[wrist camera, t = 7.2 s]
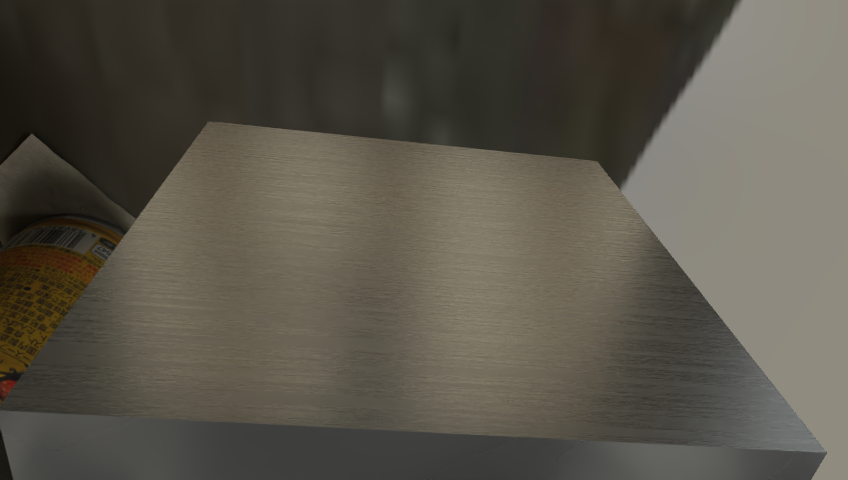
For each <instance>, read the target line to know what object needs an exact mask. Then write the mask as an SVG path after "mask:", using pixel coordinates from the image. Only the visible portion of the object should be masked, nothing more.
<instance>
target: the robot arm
mask: <svg viewBox="0 0 848 480" xmlns="http://www.w3.org/2000/svg"><path fill="white" fill-rule="evenodd" d="M0 480H13V476H12V472H11V468H10V464H9V460H8V456H7V452H6V448H5V444H4V440H3V436H2V432H1V430H0Z"/></svg>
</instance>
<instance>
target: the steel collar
mask: <svg viewBox="0 0 848 480" xmlns="http://www.w3.org/2000/svg"><path fill="white" fill-rule="evenodd" d="M0 428H1V432H2V436H3V440H4V444H5V448H6V452H7V456H8V460H9V464H10V468H11V472H12V476H13V480H811V479H812V477H813V475H814V474H815V472H816V470H817V469H818V467H819V465H820V463H821V462H822V460H823V459H824V457H825V455H826V454H827V452H826V451H825V450H824V448H823V447H822V446H821V445H820V443H819V442H818V441H817V440H816V438H815V437H814V436H813V434H812V433H811V432H810V431H809V429H808V428H807V427H806V426H805V424H804V423H803V422H802V420H801V419H800V418H799V417H798V415H797V414H796V413H795V412H794V410H793V409H792V408H791V406H790V405H789V404H788V403H787V402H786V400H785V399H784V398H783V396H782V395H781V394H780V393H779V391H778V390H777V389H776V388H775V386H774V385H773V384H772V382H771V381H770V380H769V379H768V377H767V376H766V375H765V374H764V372H763V371H762V370H761V368H760V367H759V366H758V365H757V363H756V362H755V361H754V360H753V358H752V357H751V356H750V355H749V353H748V352H747V351H746V349H745V348H744V347H743V346H742V345H741V343H740V342H739V341H738V339H737V338H736V337H735V336H734V334H733V333H732V332H731V331H730V329H729V328H728V327H727V326H726V324H725V323H724V322H723V320H722V319H721V318H720V317H719V315H718V314H717V313H716V311H715V310H714V309H713V308H712V306H711V305H710V304H709V303H708V301H707V300H706V299H705V298H704V297H703V295H702V294H701V293H700V291H699V290H698V289H697V287H696V286H695V285H694V284H693V282H692V281H691V280H690V279H689V277H688V276H687V275H686V274H685V273H684V271H683V270H682V268H681V267H680V266H679V265H678V264H677V262H676V261H675V260H674V258H673V257H672V256H671V254H670V253H669V252H668V251H667V249H666V248H665V247H664V246H663V244H662V243H661V242H660V241H659V240H658V238H657V237H656V235H655V234H654V233H653V232H652V231H651V229H650V228H649V227H648V225H647V224H646V223H645V222H644V220H643V219H642V218H641V216H640V215H639V214H638V213H637V211H636V210H635V209H634V208H633V206H632V205H631V204H630V203H629V201H628V200H627V199H626V197H625V196H624V195H623V194H622V192H621V191H620V190H619V189H618V187H617V186H616V185H615V184H614V182H613V181H612V180H611V178H610V177H609V176H608V175H607V173H606V172H605V171H604V170H603V168H602V167H601V166H600V165H599V163H598V162H597V161H589V160H580V159H570V158H560V157H550V156H541V155H531V154H521V153H511V152H502V151H492V150H482V149H472V148H463V147H453V146H443V145H433V144H424V143H414V142H404V141H394V140H384V139H375V138H365V137H355V136H345V135H336V134H326V133H316V132H306V131H297V130H287V129H277V128H267V127H258V126H248V125H238V124H228V123H219V122H208V123H207V124H206V126H205V127H204V128H203V130H202V131H201V132H200V134H199V135H198V137H197V138H196V139H195V141H194V142H193V143H192V145H191V146H190V147H189V149H188V150H187V152H186V153H185V154H184V156H183V157H182V158H181V160H180V161H179V162H178V164H177V165H176V166H175V168H174V169H173V171H172V172H171V173H170V175H169V176H168V177H167V179H166V180H165V181H164V183H163V184H162V185H161V187H160V188H159V190H158V191H157V192H156V194H155V195H154V196H153V198H152V199H151V200H150V202H149V203H148V205H147V206H146V207H145V209H144V210H143V211H142V213H141V214H140V215H139V217H138V218H137V219H136V221H135V222H134V224H133V225H132V226H131V228H130V229H129V230H128V232H127V233H126V234H125V236H124V237H123V239H122V240H121V241H120V243H119V244H118V245H117V247H116V248H115V249H114V251H113V252H112V253H111V255H110V256H109V258H108V259H107V260H106V262H105V263H104V264H103V266H102V267H101V268H100V270H99V271H98V273H97V274H96V275H95V277H94V278H93V279H92V281H91V282H90V283H89V285H88V286H87V287H86V289H85V290H84V292H83V293H82V294H81V296H80V297H79V298H78V300H77V301H76V302H75V304H74V305H73V306H72V308H71V309H70V311H69V312H68V313H67V315H66V316H65V317H64V319H63V320H62V321H61V323H60V324H59V326H58V327H57V328H56V330H55V331H54V332H53V334H52V335H51V336H50V338H49V339H48V340H47V342H46V343H45V345H44V346H43V347H42V349H41V350H40V351H39V353H38V354H37V355H36V357H35V358H34V360H33V361H32V362H31V364H30V365H29V366H28V368H27V369H26V370H25V372H24V373H23V374H22V376H21V377H20V379H19V380H18V381H17V383H16V384H15V385H14V387H13V388H12V389H11V391H10V392H9V393H8V395H7V396H6V398H5V399H4V400H3V402H2V403H1V404H0Z"/></svg>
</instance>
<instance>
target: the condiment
mask: <svg viewBox="0 0 848 480" xmlns="http://www.w3.org/2000/svg"><path fill="white" fill-rule="evenodd" d="M81 206H83V207H85V210H82V209H81ZM135 221H136V219H135V218H134V217H132V216H131V215H130V214H128V213H127V212H126V211H125V210H124V209H123V208H122V207H120V206H119V205H117V204H115V203H114V202H113V201H111V200H110V199H109V198H107V197H106V196H105V195H104V194H103V193H102V191H100V190H99V189H98V188H97V187H96V186H95V185H93V184H92V183H91V182H90V181H89V180H87V179H86V178H85V177H84V176H83V175H82V174H81V173H80V172H79V171H78V170H76V169H75V168H74V167H72V166H71V165H70V164H69V163H67V162H66V161H64V160H63V159H61V158H60V157H59V156H57V155H56V154H55V153H53V152H52V151H51V150H50V149H49V148H48V147H47V146H46V145H45V144H44V143H42V142H41V141H40V140H39V139H38V138H36V137H35V136H34V135H33V134H31V135H30V136H29V137H28V138H27V139H26V140H25V141H24V142H23V143H22V144H21V145H20V146H19V147H18V148H17V149H16V150H15V151H14V152H13V153H12V154H11V155H10V156H9V157H8V158H7V159H6V160H5V161H4V162H3V163H2V164H1V165H0V241H1V242H2V244H3V246H2V247H1V248H0V404H1V403H2V402H3V400H4V399H5V398H6V396H7V395H8V393H9V392H10V391H11V389H12V388H13V387H14V385H15V384H16V383H17V381H18V380H19V379H20V377H21V376H22V374H23V373H24V372H25V370H26V369H27V368H28V366H29V365H30V364H31V362H32V361H33V360H34V358H35V357H36V355H37V354H38V353H39V351H40V350H41V349H42V347H43V346H44V345H45V343H46V342H47V340H48V339H49V338H50V336H51V335H52V334H53V332H54V331H55V330H56V328H57V327H58V326H59V324H60V323H61V321H62V320H63V319H64V317H65V316H66V315H67V313H68V312H69V311H70V309H71V308H72V306H73V305H74V304H75V302H76V301H77V300H78V298H79V297H80V296H81V294H82V293H83V292H84V290H85V289H86V287H87V286H88V285H89V283H90V282H91V281H92V279H93V278H94V277H95V275H96V274H97V273H98V271H99V270H100V268H101V267H102V266H103V264H104V263H105V262H106V260H107V259H108V258H109V256H110V255H111V253H112V252H113V251H114V249H115V248H116V247H117V245H118V244H119V243H120V241H121V240H122V239H123V237H124V236H125V234H126V233H127V232H128V230H129V229H130V228H131V226H132V225H133V224H134V222H135ZM0 430H1V428H0Z"/></svg>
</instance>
